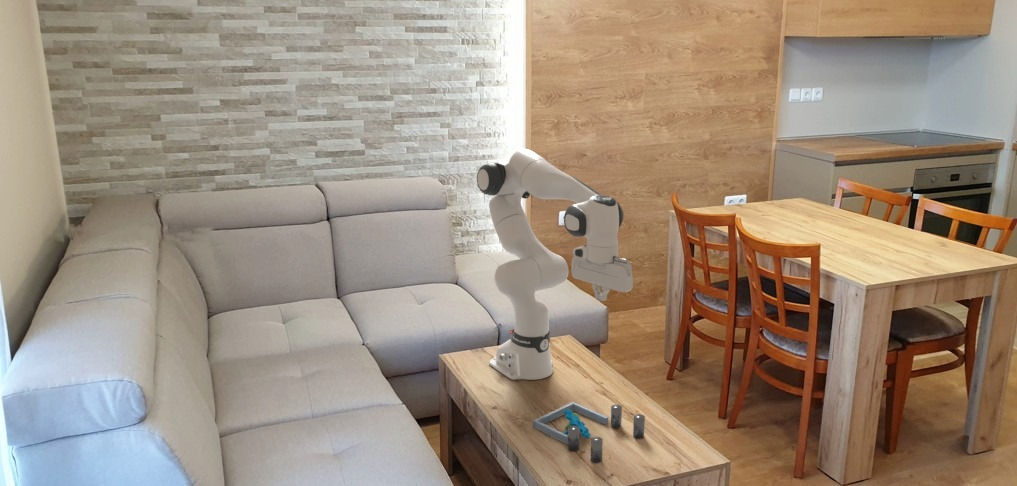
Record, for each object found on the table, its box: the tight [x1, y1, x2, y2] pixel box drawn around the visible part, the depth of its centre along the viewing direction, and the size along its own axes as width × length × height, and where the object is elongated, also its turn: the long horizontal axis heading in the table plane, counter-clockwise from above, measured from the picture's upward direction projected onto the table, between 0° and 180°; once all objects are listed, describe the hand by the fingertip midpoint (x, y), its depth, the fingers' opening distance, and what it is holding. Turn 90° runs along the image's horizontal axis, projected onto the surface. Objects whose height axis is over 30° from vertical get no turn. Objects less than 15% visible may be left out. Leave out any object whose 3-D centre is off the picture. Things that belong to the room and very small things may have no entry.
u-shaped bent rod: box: [532, 401, 609, 445], centre depth 222 cm, size 14×17×2 cm
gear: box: [563, 409, 591, 440], centre depth 216 cm, size 11×6×10 cm
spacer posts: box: [567, 404, 646, 464], centre depth 212 cm, size 11×21×6 cm, turn 133°
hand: (600, 299), depth 224 cm, fingers closed
